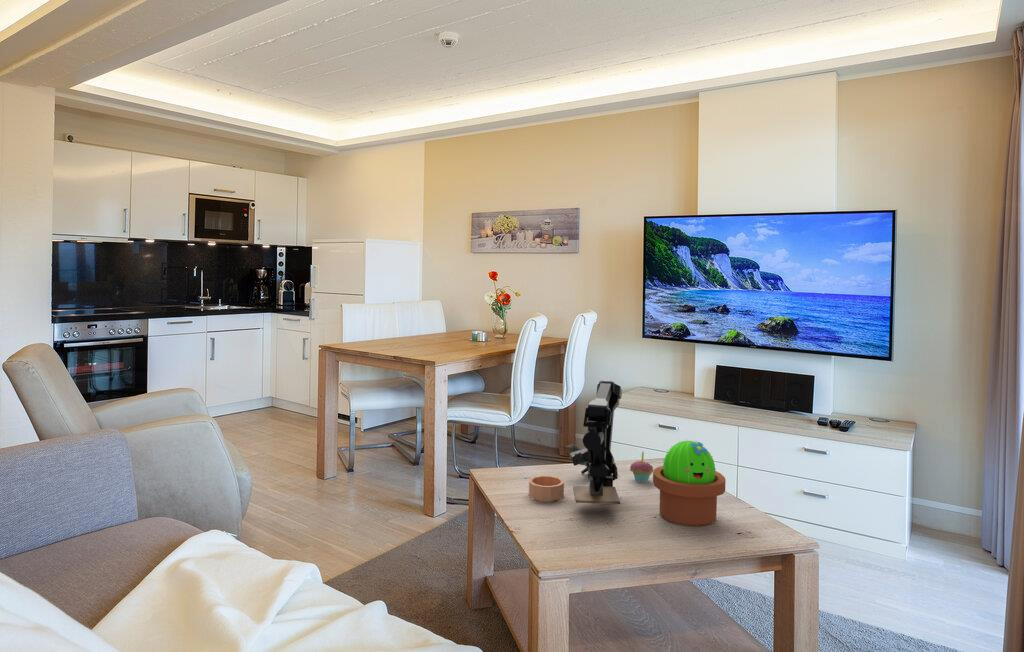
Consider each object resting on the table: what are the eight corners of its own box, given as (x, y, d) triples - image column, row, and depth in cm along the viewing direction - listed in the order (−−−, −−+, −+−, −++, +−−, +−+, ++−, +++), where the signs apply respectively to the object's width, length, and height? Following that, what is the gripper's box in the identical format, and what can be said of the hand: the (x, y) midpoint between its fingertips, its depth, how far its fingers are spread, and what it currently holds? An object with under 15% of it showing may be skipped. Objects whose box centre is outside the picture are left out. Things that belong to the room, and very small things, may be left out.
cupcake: (654, 484, 232) (655, 452, 231) (631, 483, 232) (632, 452, 231) (650, 476, 240) (651, 446, 239) (627, 476, 240) (628, 445, 239)
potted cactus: (643, 504, 211) (645, 431, 209) (706, 503, 213) (709, 430, 211) (665, 530, 189) (667, 449, 187) (735, 529, 191) (738, 448, 189)
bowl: (562, 489, 224) (563, 476, 224) (564, 501, 212) (564, 487, 212) (529, 488, 225) (529, 475, 224) (528, 500, 213) (528, 486, 212)
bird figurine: (613, 468, 248) (589, 426, 245) (621, 476, 238) (596, 433, 235) (585, 486, 247) (560, 444, 244) (591, 495, 237) (565, 452, 234)
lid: (614, 489, 211) (615, 472, 211) (620, 504, 197) (620, 486, 197) (573, 488, 212) (573, 471, 211) (575, 502, 198) (576, 484, 197)
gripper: (570, 434, 213) (569, 479, 214) (573, 449, 194) (572, 498, 195) (603, 435, 212) (602, 480, 213) (609, 450, 194) (608, 499, 195)
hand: (596, 489), depth 204 cm, fingers closed on lid, 4 cm apart
